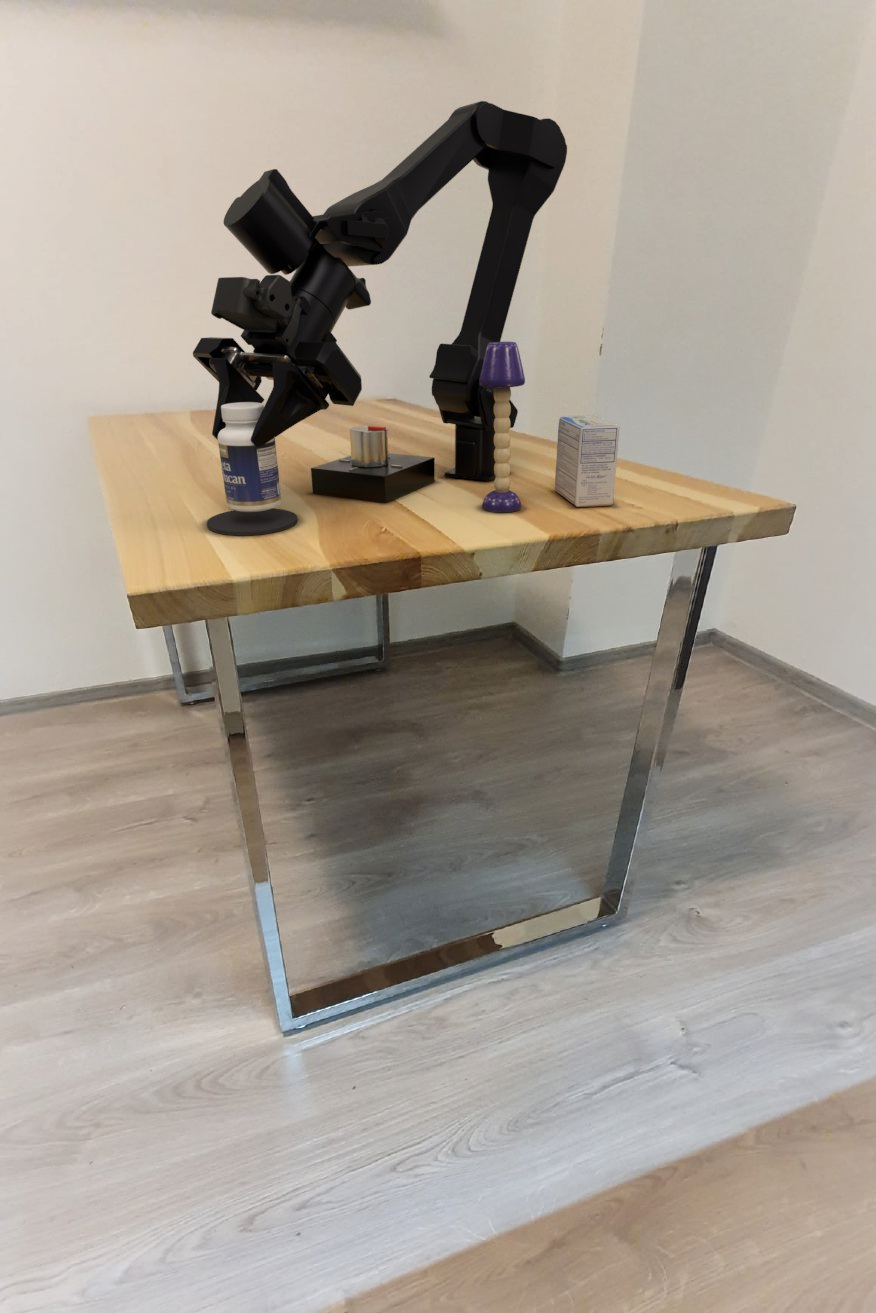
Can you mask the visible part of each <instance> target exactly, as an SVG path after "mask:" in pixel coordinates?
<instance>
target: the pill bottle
mask: <svg viewBox="0 0 876 1313" xmlns="http://www.w3.org/2000/svg"><path fill="white" fill-rule="evenodd" d="M264 406H265V404H263V402H262V403H256V402H238V403H229V404H224V405H222V406H221V412H222V418H223V422H225V423H226V427H225V428H224V429H222V430H221V431H220V432H219V434H218V440H217V443H218V450H219V458H220V465H221V466H220V467H221V474H222V479H223V486H224V493H225V494H224V495H225V500H226V505H227V507H228V509H230V510H231V511H233V510H235V511H241V512H258V511H266V510H269V509H273V508H275V509H276V508H277V507H279V506H280V505H281V503H282V494H281V493H282V492H281V484H280V474H279V465H278V455H277V445H276V444H277V443H276V437H275V438H273V439H272V440H270V441H269V442H267V443H266V444H264V445H263V446H261V447H256V446H255V445H254V444H253V443H252V442H251V436H252V434H253V431H254V428H255V426H256V423H257V421H258V419H259V417H260V415H261V413H262V411H263V408H264Z"/></svg>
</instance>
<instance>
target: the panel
mask: <svg viewBox="0 0 876 1313" xmlns="http://www.w3.org/2000/svg"><path fill="white" fill-rule="evenodd" d="M388 454H389V464H388V465H385V466H381V467H357V466H354V465H352V463H351V455H348V456H345V457H342V458H339V459H335V460H332V461H329V462H326V463H325V462H324V463H323V464H319V465H316V466H313V467H310V473H311V474H310V475H311V477H310V478H311V490H312V495H320V496H328V497H336V498H344V499H349V500H350V499H351V500H359V501H366V502H373V503H374V502H375V503H381V504H387V503H390V502H391V501H394V500H396V499H398V498H401V497H403V496H405V495H408V494H410V493H413V492H414V491H417V490H419V489H422V488H423V487H426V486H429V485H431V484H433V483H435V482H436V480H435V479H436V477H435V476H436V475H435V474H436V473H435V472H436V471H435V470H436V469H435V468H436V467H435V466H436V464H435V462H436V461H435V459H436V458H435V457H431V456H422V455H412V454H402V453H391V452H388Z"/></svg>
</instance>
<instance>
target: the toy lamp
mask: <svg viewBox="0 0 876 1313" xmlns="http://www.w3.org/2000/svg"><path fill="white" fill-rule="evenodd" d="M525 378H526V377H525V372H524V368H523V364H522V359H521V354H520V350H519V347H518V344H517V342H515V341H500V342H491V343H489V344H488V345H487V348H486V352H485V356H484V361H483V365H482V370H481V374H480V380H479V384H480V386H482V387H487V388H494V399H495V404H494V415H495V419H494V430H495V435H494V445H495V447H496V448H495V450H494V460H495V462H496V463H495V465H494V473H495V476H496V478H495V479H493V486H494V490H492V491H490V492H489V493H487V494H486V496H485V497H484V498H483V501H482V504H481V505H482V506H481V508H482V510H485V511H488V512H491V513H513V512H517V511H519V510H521V508H522V502H521V499H520V497H519V496H518V494H517V493H515V492H514V491H513V490H510V489H511V478H510V475H511V465H510V460H511V450H510V446H511V439H512V438H511V434H510V430H511V428H510V426H511V423H510V419H509V415H510V412H511V406H510V403H509V400H511V397H512V390H511V388H517V387H521V386H524V385H525V383H526V379H525Z"/></svg>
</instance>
